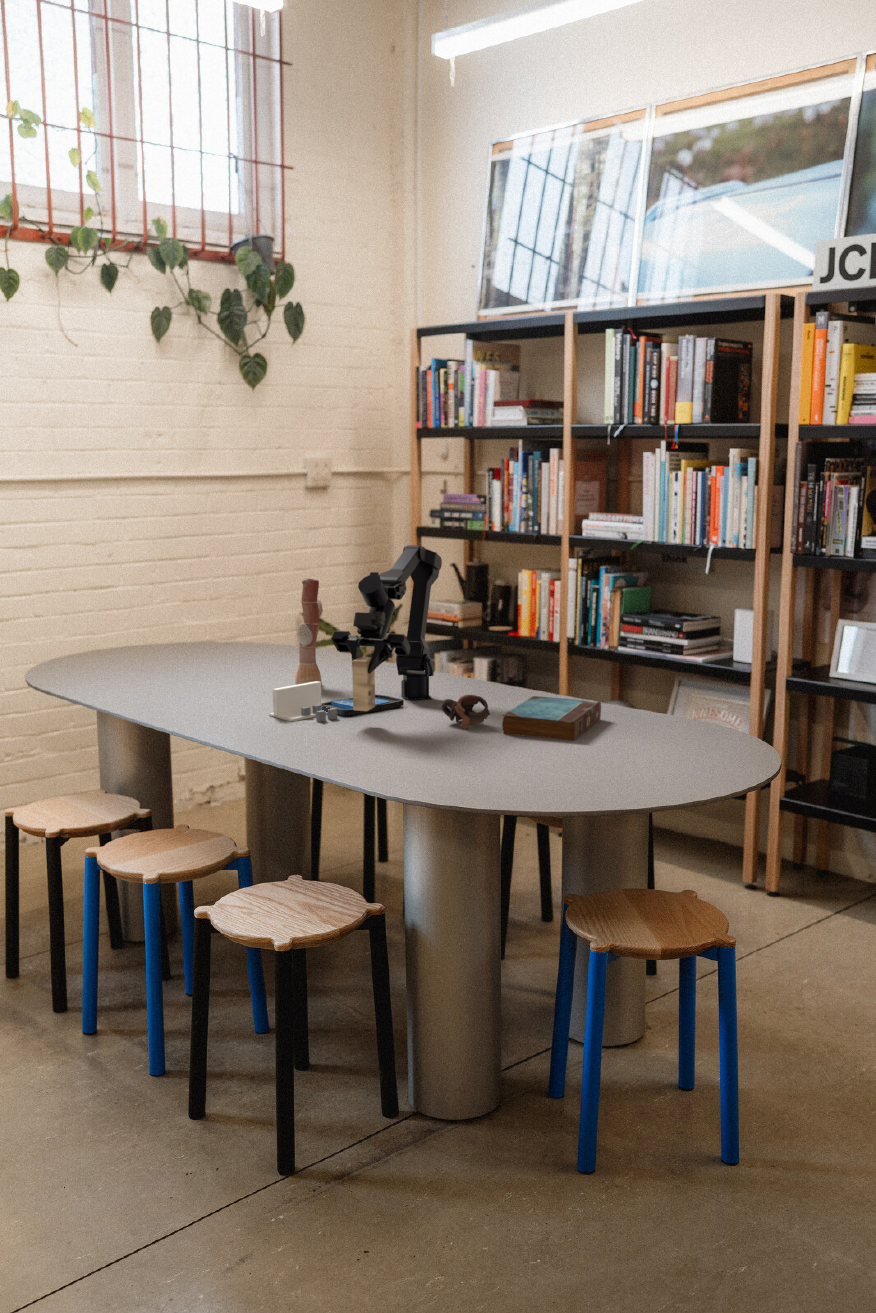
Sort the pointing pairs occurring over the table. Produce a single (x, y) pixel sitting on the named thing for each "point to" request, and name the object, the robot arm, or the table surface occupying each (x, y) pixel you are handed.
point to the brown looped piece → (465, 710)
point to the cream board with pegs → (300, 703)
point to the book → (551, 718)
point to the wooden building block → (363, 685)
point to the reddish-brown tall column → (309, 633)
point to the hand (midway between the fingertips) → (361, 672)
